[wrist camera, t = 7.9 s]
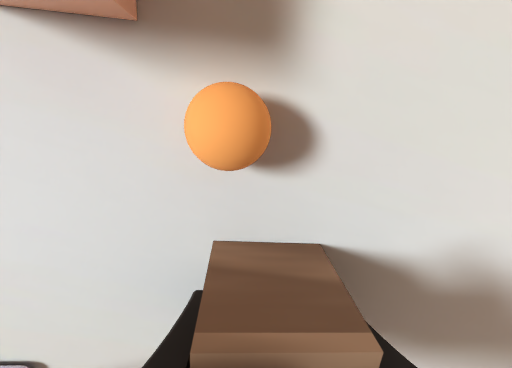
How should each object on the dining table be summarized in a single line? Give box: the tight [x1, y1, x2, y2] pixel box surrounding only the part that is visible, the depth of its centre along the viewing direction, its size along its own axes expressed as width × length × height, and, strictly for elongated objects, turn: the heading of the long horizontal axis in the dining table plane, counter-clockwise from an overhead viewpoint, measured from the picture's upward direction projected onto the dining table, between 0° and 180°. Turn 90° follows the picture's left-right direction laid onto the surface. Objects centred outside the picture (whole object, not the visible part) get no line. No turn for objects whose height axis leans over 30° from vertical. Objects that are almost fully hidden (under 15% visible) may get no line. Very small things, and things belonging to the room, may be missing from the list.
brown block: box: [190, 241, 383, 368], centre depth 10 cm, size 5×5×6 cm
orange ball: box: [184, 82, 271, 171], centre depth 8 cm, size 3×3×3 cm
